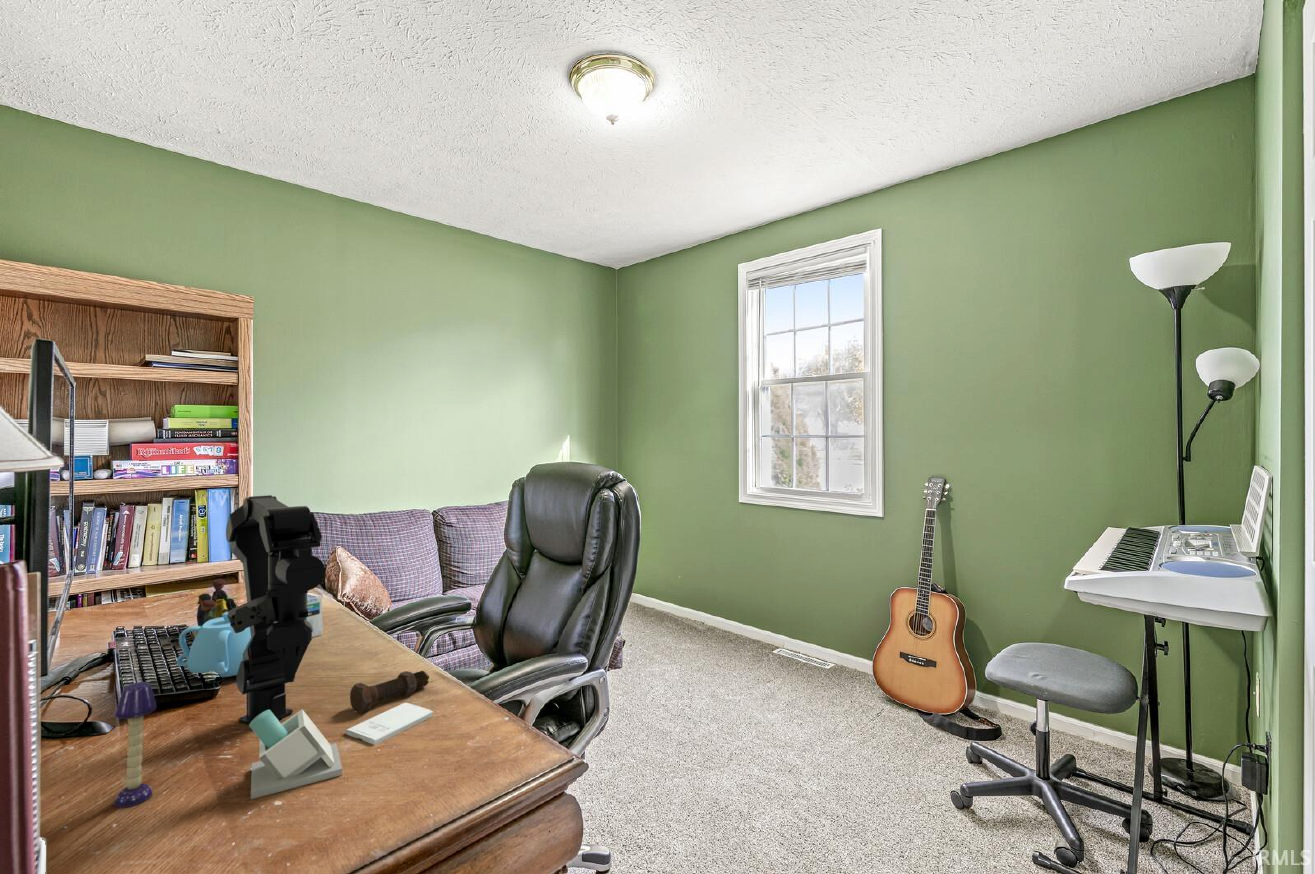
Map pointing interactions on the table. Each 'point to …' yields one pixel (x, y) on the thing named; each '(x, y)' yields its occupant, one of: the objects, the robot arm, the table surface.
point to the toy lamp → (135, 740)
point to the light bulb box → (315, 613)
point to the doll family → (214, 604)
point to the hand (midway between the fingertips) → (288, 671)
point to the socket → (295, 759)
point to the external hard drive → (389, 723)
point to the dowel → (268, 728)
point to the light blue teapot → (214, 647)
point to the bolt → (386, 690)
